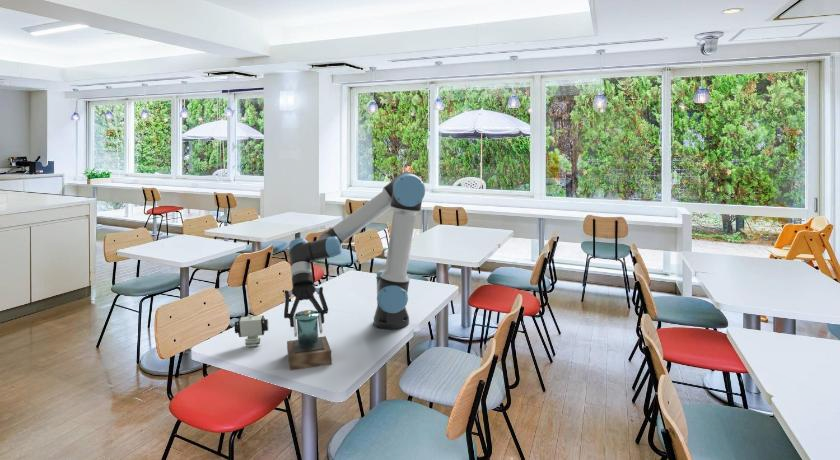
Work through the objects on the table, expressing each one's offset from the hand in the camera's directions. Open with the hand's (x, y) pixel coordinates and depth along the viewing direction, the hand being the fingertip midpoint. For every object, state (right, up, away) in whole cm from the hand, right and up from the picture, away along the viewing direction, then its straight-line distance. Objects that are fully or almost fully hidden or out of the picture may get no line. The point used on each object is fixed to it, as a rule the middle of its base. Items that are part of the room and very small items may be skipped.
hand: (308, 333), depth 172 cm
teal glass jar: (-1, -4, +4) cm, 5 cm away
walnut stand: (-1, -10, +5) cm, 11 cm away
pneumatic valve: (-25, -9, +18) cm, 32 cm away
